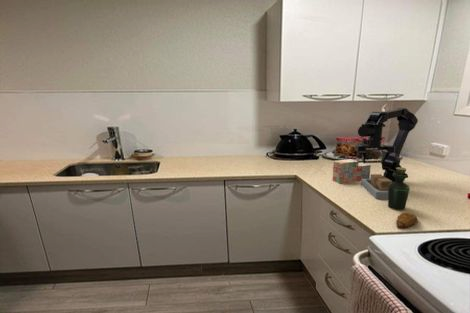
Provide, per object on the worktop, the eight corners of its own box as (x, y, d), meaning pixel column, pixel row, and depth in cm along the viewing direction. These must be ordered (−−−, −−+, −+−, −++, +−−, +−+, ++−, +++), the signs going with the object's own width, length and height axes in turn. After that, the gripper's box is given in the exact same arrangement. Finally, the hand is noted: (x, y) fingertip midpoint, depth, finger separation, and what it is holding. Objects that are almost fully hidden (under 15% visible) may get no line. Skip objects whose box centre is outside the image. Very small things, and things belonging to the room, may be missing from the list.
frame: (383, 185, 144) (384, 179, 143) (402, 199, 123) (403, 192, 123) (360, 184, 145) (361, 178, 144) (375, 198, 125) (376, 192, 124)
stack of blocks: (361, 176, 159) (363, 157, 157) (369, 179, 153) (371, 159, 151) (332, 180, 154) (333, 160, 151) (338, 183, 148) (340, 163, 145)
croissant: (408, 233, 94) (410, 220, 93) (389, 226, 99) (390, 214, 98) (423, 222, 101) (425, 210, 100) (404, 216, 107) (406, 205, 106)
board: (391, 191, 128) (392, 181, 127) (380, 191, 128) (382, 181, 127) (379, 184, 139) (380, 174, 138) (370, 184, 140) (371, 174, 139)
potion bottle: (381, 204, 119) (386, 166, 115) (398, 203, 119) (403, 165, 115) (393, 211, 111) (398, 171, 107) (411, 210, 111) (417, 170, 107)
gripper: (387, 133, 144) (384, 160, 148) (352, 133, 146) (350, 160, 150) (397, 136, 134) (393, 165, 137) (359, 136, 136) (356, 165, 139)
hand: (372, 163), depth 141 cm, fingers open, 9 cm apart
